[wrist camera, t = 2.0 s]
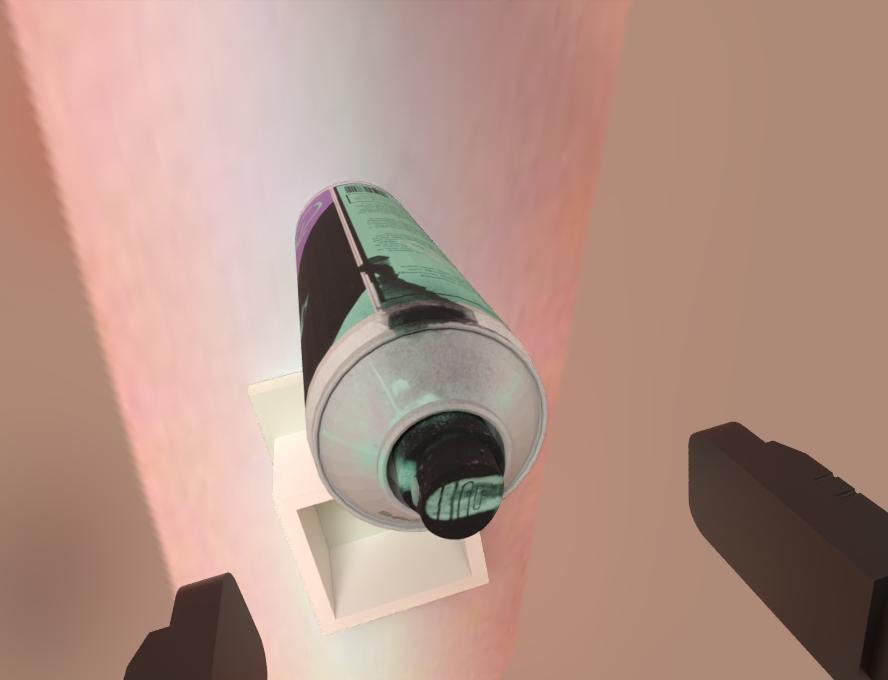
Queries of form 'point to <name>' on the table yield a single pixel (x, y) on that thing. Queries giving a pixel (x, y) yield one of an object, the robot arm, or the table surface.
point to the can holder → (350, 531)
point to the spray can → (407, 372)
